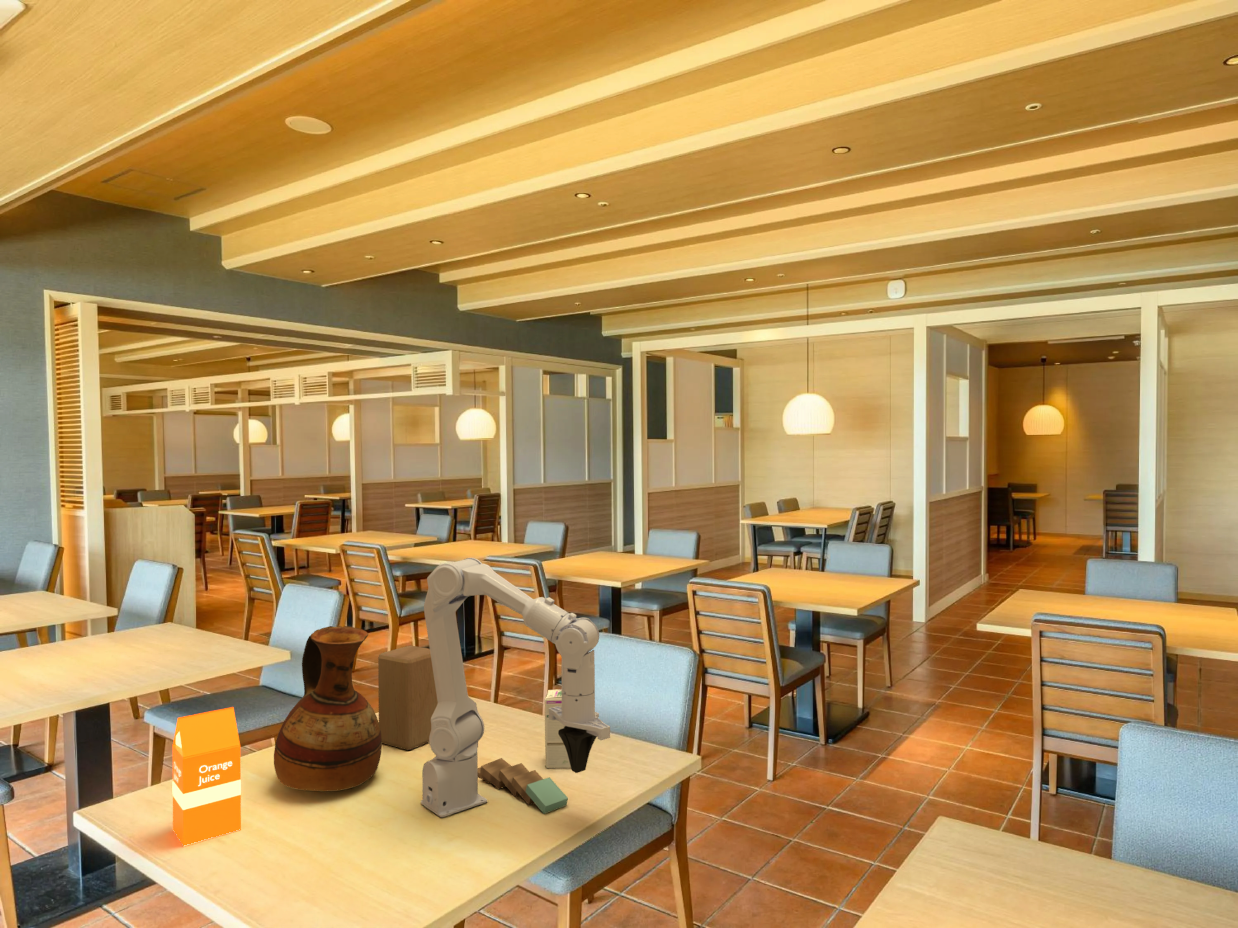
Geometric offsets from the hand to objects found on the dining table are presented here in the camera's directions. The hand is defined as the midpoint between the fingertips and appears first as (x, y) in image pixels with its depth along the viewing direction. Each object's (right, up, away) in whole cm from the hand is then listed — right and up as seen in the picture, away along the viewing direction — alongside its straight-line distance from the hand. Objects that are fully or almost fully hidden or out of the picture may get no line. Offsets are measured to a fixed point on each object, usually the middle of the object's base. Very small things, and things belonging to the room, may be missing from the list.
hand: (578, 770), depth 133 cm
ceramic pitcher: (-50, -9, +18) cm, 53 cm away
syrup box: (-5, -9, +26) cm, 28 cm away
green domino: (-4, -8, +5) cm, 10 cm away
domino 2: (-14, -8, +15) cm, 22 cm away
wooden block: (-40, -9, +40) cm, 57 cm away
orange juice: (-63, -10, -2) cm, 64 cm away
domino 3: (-10, -8, +12) cm, 18 cm away
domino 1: (-16, -9, +18) cm, 26 cm away
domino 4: (-7, -8, +8) cm, 14 cm away
